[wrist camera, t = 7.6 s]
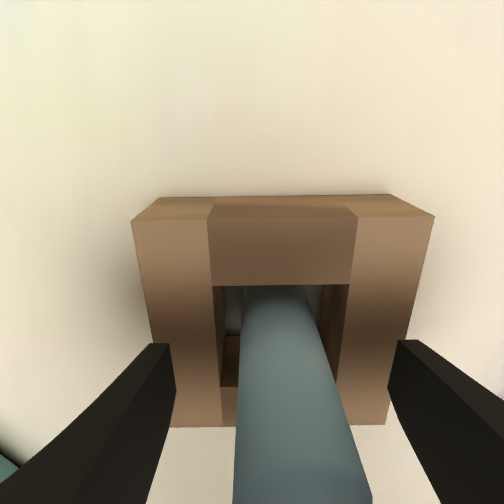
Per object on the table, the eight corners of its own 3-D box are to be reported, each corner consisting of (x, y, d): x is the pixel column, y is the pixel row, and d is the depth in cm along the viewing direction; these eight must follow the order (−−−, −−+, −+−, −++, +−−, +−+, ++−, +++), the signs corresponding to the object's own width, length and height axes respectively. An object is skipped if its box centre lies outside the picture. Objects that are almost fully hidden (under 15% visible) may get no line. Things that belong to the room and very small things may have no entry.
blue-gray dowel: (301, 321, 14) (358, 545, 6) (241, 320, 14) (231, 542, 6) (307, 268, 13) (386, 464, 5) (243, 266, 13) (233, 462, 5)
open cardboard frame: (359, 369, 15) (384, 424, 12) (184, 372, 15) (169, 427, 12) (390, 194, 11) (434, 216, 9) (159, 197, 11) (130, 220, 9)
